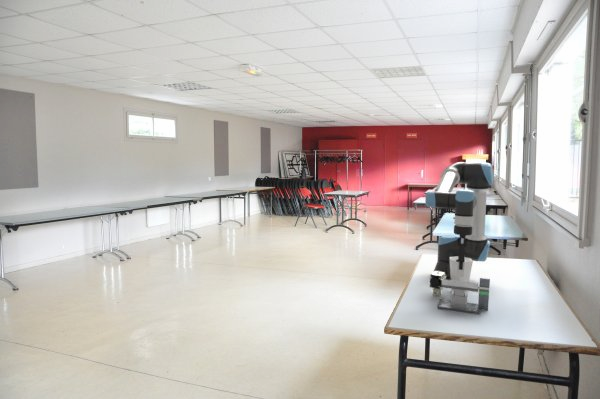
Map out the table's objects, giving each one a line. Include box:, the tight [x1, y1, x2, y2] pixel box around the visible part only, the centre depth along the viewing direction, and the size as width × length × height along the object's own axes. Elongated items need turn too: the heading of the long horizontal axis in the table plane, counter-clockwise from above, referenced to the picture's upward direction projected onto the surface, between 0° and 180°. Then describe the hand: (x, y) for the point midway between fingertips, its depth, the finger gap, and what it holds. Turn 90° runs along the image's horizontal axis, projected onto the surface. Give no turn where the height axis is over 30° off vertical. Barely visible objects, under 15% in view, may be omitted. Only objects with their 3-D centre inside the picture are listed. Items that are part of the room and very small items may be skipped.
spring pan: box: [441, 279, 490, 296], centre depth 188 cm, size 19×9×6 cm, turn 68°
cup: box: [449, 256, 474, 294], centre depth 210 cm, size 11×10×17 cm
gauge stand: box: [437, 277, 491, 315], centre depth 188 cm, size 20×11×14 cm, turn 68°
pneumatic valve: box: [429, 271, 447, 298], centre depth 205 cm, size 6×12×12 cm, turn 148°
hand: (460, 273), depth 188 cm, fingers open, 13 cm apart
